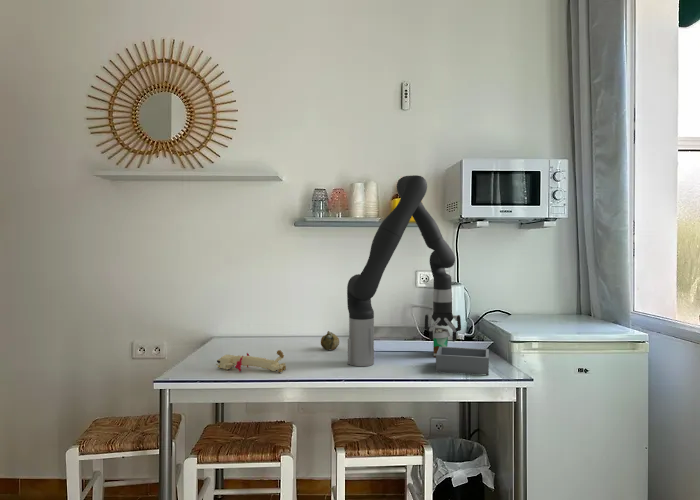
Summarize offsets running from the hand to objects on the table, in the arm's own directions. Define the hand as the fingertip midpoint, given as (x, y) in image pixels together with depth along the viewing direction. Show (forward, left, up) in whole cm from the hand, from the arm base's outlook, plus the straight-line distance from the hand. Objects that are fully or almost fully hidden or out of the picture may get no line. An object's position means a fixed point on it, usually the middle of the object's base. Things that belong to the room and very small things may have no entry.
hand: (442, 340), depth 216 cm
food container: (0, 0, -6) cm, 6 cm away
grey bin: (+9, -19, -6) cm, 22 cm away
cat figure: (-65, -39, -6) cm, 76 cm away
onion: (-46, -1, -6) cm, 47 cm away
